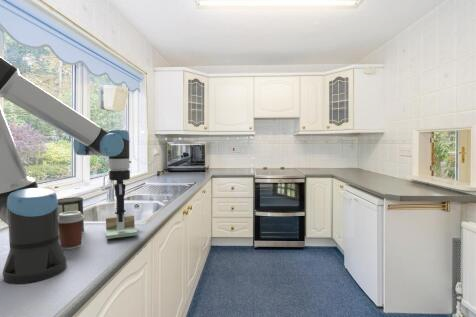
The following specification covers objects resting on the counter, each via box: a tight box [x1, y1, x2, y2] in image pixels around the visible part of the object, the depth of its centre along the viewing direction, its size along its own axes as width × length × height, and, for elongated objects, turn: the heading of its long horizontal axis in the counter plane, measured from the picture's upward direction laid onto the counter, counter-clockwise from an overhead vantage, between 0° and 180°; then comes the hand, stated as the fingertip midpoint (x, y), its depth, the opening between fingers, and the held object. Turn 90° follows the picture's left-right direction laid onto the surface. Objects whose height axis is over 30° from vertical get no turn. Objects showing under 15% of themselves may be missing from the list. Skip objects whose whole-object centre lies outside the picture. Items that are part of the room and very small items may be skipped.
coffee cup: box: [58, 211, 85, 251], centre depth 107 cm, size 9×9×12 cm
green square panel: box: [105, 226, 138, 240], centre depth 119 cm, size 1×11×12 cm
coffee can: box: [57, 196, 85, 238], centre depth 122 cm, size 10×10×14 cm
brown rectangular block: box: [105, 214, 136, 231], centre depth 126 cm, size 2×11×6 cm, turn 114°
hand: (120, 229), depth 118 cm, fingers closed
